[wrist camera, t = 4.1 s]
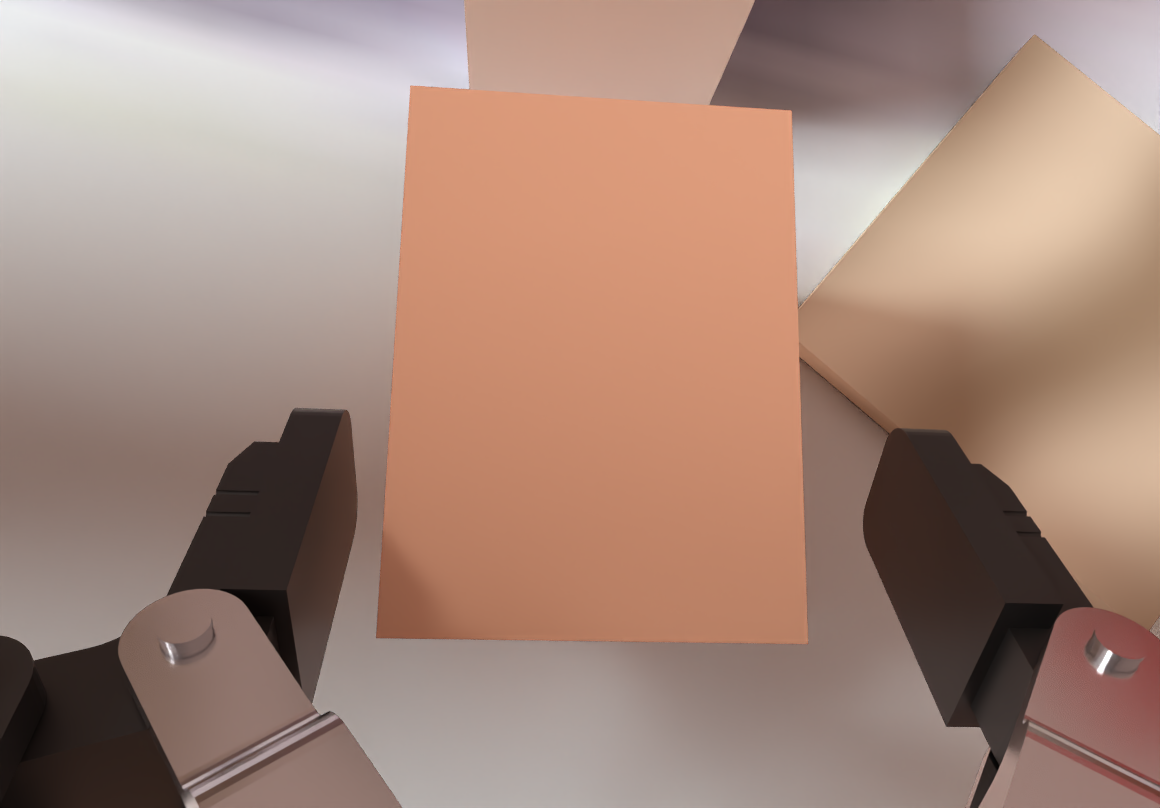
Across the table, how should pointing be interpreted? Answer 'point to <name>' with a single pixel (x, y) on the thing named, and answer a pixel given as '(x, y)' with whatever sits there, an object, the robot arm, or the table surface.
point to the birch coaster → (1023, 316)
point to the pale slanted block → (603, 47)
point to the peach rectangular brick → (595, 375)
